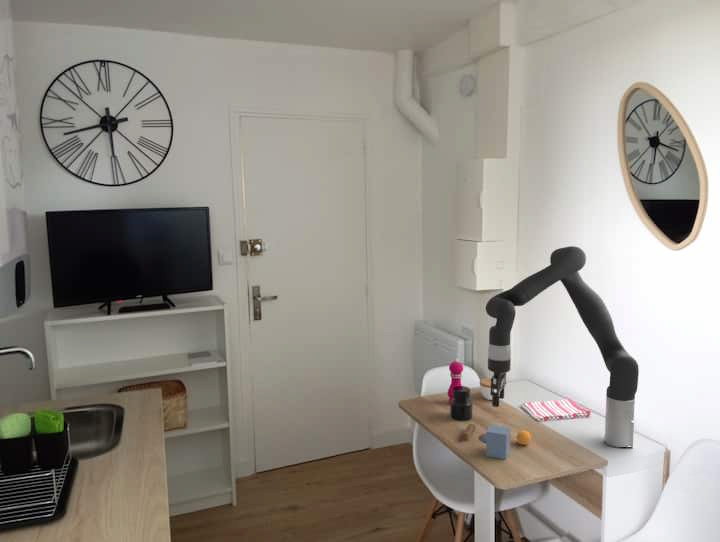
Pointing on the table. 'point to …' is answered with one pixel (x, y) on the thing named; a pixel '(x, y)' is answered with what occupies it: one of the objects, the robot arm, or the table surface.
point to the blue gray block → (498, 441)
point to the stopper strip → (468, 432)
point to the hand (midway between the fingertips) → (498, 402)
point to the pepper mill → (455, 377)
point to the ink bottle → (461, 404)
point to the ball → (523, 437)
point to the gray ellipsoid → (483, 437)
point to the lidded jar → (486, 388)
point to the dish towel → (555, 410)
